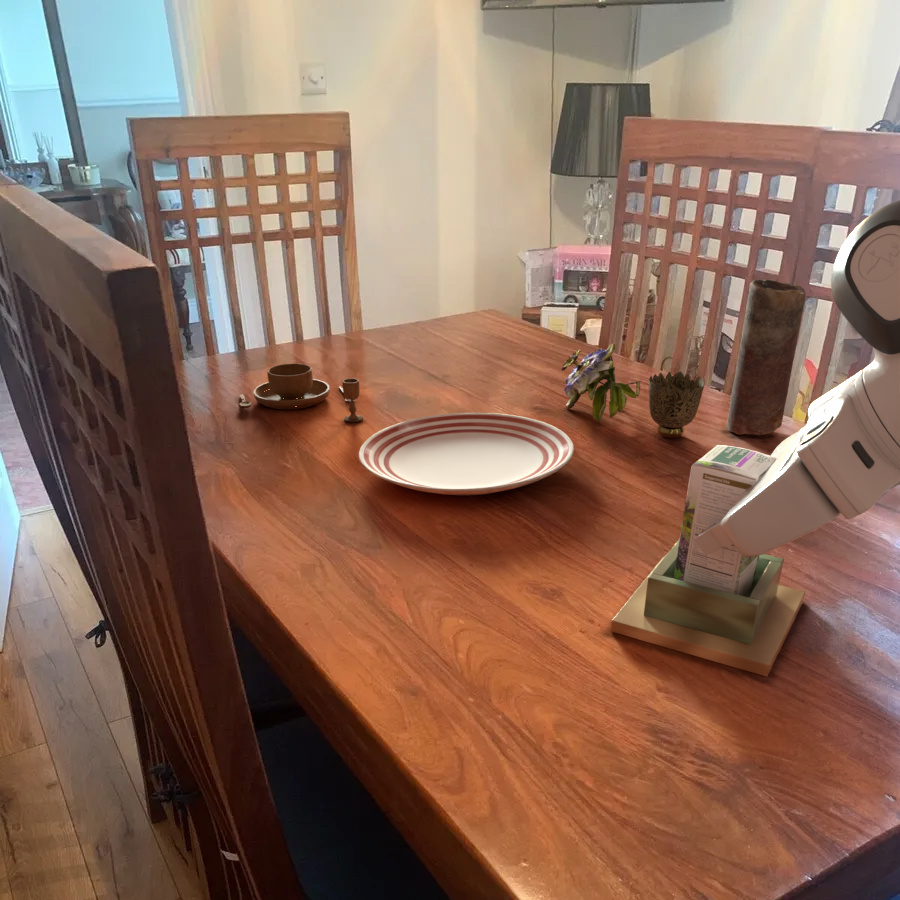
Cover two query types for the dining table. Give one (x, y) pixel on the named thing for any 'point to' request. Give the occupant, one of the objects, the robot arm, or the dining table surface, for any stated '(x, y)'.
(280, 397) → the place setting
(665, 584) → the socket pad
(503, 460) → the dinner plate
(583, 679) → the dining table surface
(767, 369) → the tall brown vase
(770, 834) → the dining table surface
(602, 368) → the passion flower
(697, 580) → the syrup box
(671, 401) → the cup
